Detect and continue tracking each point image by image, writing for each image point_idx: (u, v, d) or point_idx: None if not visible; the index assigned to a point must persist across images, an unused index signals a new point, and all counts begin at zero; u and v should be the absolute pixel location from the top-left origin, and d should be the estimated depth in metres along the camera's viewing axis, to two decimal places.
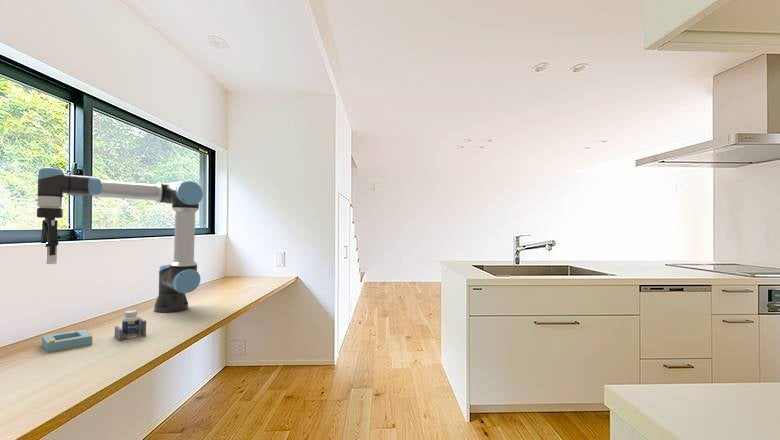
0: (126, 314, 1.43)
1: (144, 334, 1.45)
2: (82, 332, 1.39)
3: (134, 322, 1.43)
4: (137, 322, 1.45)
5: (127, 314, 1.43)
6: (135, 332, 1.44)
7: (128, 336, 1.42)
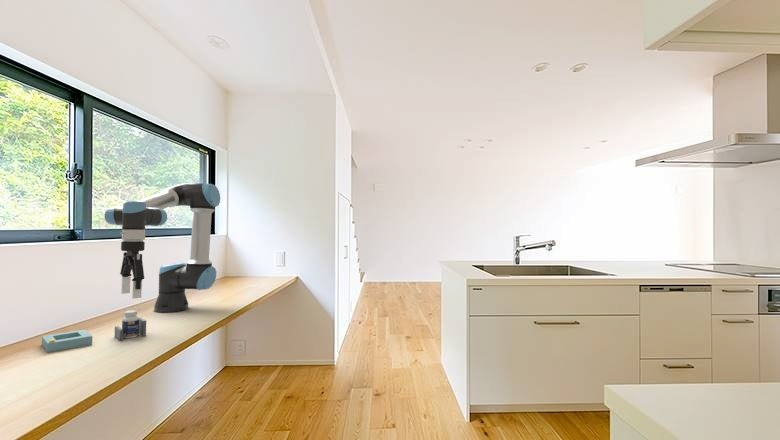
0: (126, 314, 1.43)
1: (144, 334, 1.45)
2: (82, 332, 1.39)
3: (134, 322, 1.43)
4: (137, 322, 1.45)
5: (127, 314, 1.43)
6: (135, 332, 1.44)
7: (128, 336, 1.42)
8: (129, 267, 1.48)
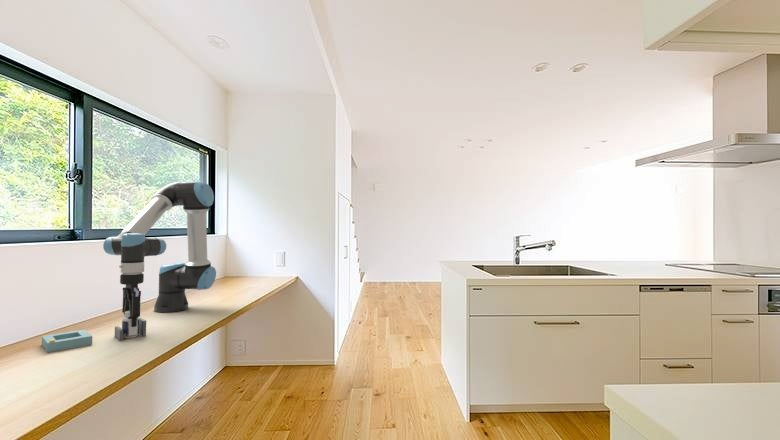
0: (126, 314, 1.43)
1: (144, 334, 1.45)
2: (82, 332, 1.39)
3: None
4: None
5: (127, 314, 1.43)
6: None
7: (128, 336, 1.42)
8: None
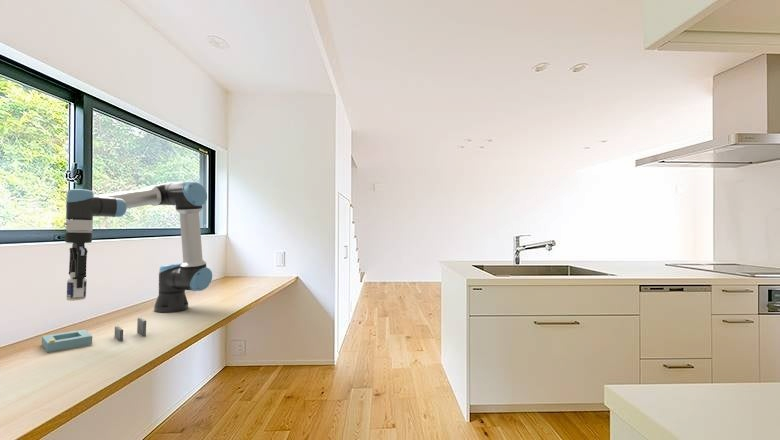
0: (71, 275, 1.34)
1: (144, 334, 1.45)
2: (82, 332, 1.39)
3: None
4: (84, 284, 1.36)
5: (72, 275, 1.34)
6: None
7: (73, 298, 1.33)
8: None
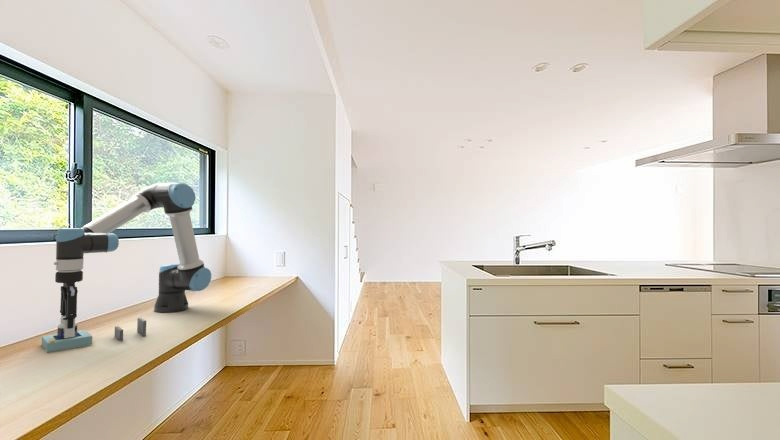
0: (62, 320, 1.33)
1: (144, 334, 1.45)
2: (82, 332, 1.39)
3: None
4: None
5: (63, 320, 1.33)
6: None
7: None
8: None
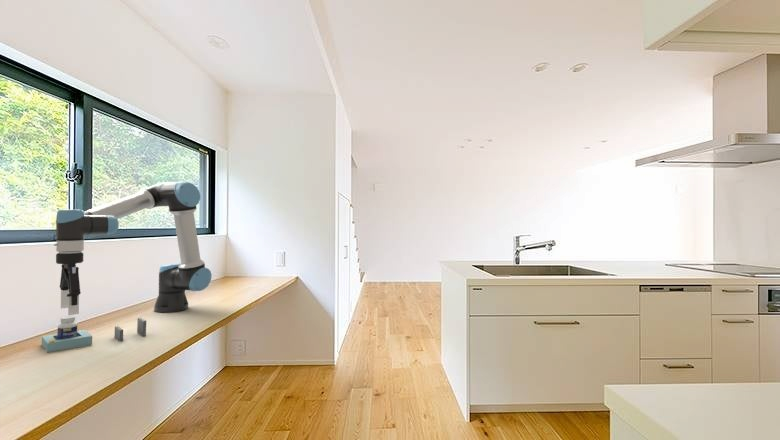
0: (62, 320, 1.33)
1: (144, 334, 1.45)
2: (82, 332, 1.39)
3: (70, 329, 1.33)
4: (74, 329, 1.34)
5: (63, 320, 1.33)
6: None
7: None
8: None
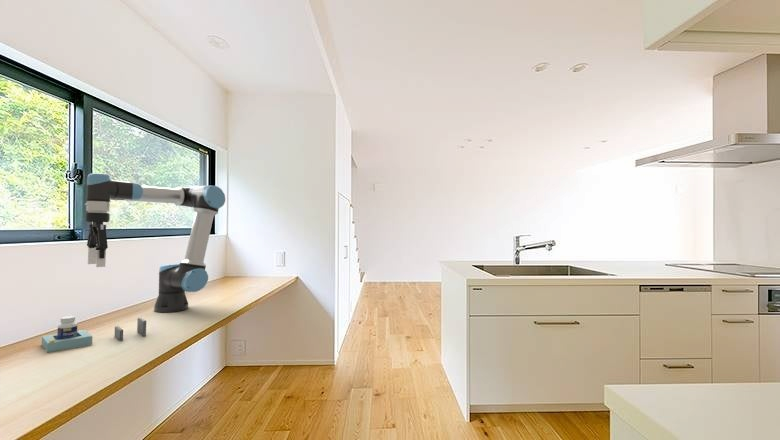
0: (62, 320, 1.33)
1: (144, 334, 1.45)
2: (82, 332, 1.39)
3: (70, 329, 1.33)
4: (74, 329, 1.34)
5: (63, 320, 1.33)
6: None
7: None
8: (95, 238, 1.52)
